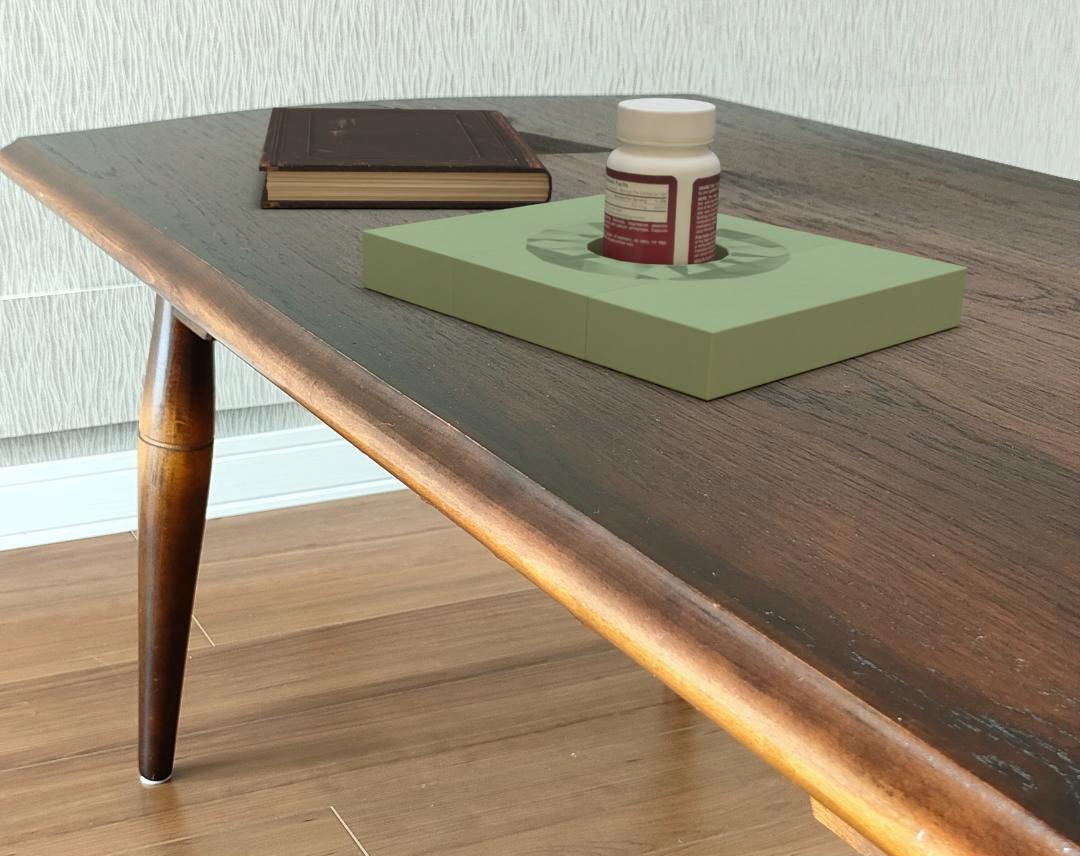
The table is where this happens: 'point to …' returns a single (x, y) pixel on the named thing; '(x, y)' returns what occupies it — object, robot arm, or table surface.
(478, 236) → the socket pad
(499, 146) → the hardcover book
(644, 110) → the pill bottle
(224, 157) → the table surface
